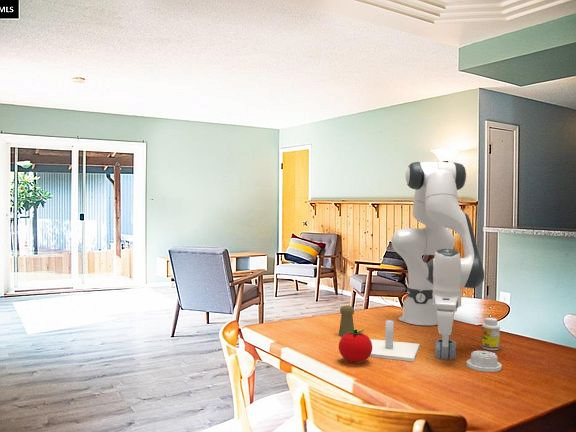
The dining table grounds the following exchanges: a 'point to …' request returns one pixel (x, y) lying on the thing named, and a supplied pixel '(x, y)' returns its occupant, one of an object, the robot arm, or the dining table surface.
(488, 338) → the supplement bottle
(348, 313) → the olive pepper mill
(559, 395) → the dining table surface
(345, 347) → the tomato
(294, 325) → the dining table surface
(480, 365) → the mechanical component
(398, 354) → the post block
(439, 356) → the ring
